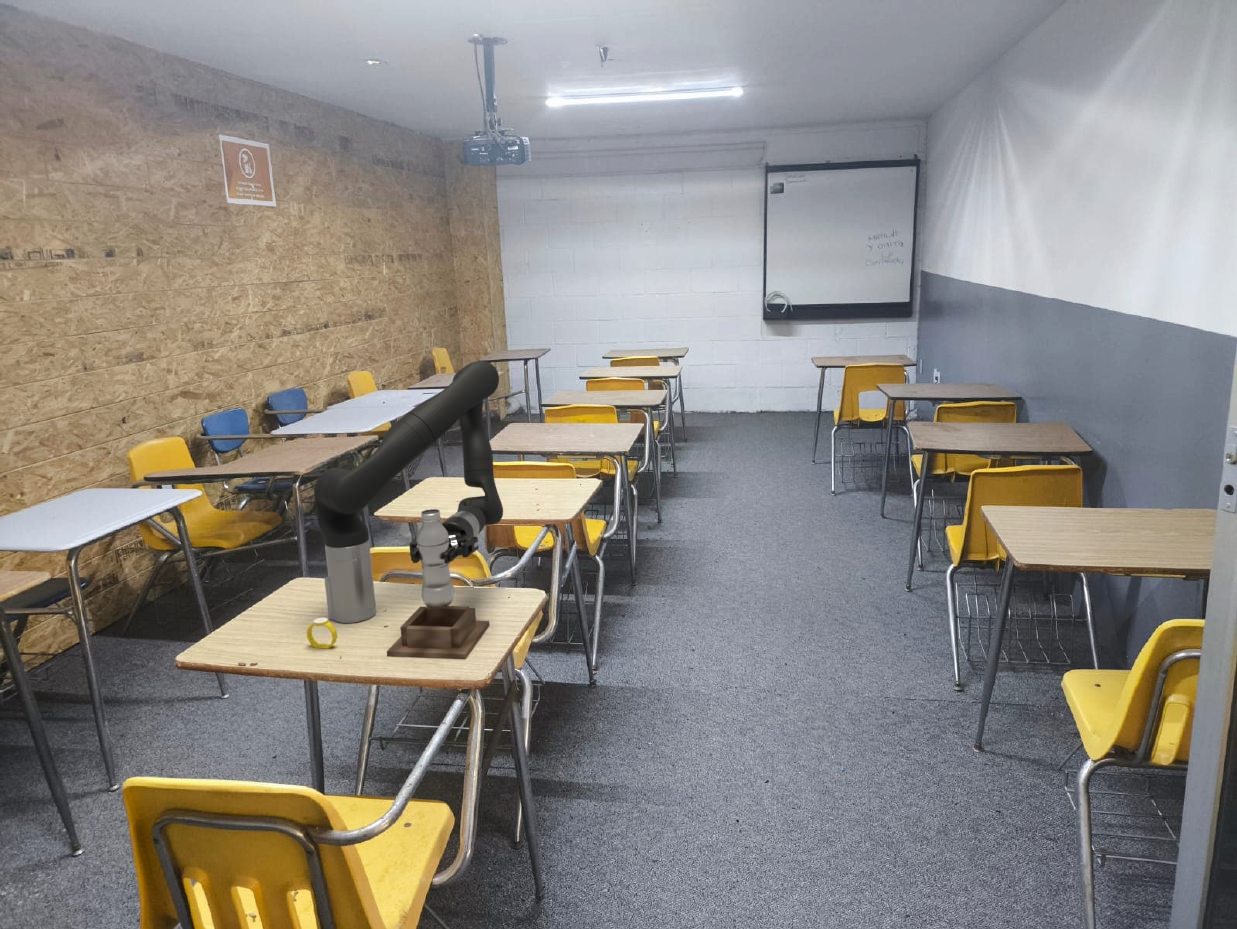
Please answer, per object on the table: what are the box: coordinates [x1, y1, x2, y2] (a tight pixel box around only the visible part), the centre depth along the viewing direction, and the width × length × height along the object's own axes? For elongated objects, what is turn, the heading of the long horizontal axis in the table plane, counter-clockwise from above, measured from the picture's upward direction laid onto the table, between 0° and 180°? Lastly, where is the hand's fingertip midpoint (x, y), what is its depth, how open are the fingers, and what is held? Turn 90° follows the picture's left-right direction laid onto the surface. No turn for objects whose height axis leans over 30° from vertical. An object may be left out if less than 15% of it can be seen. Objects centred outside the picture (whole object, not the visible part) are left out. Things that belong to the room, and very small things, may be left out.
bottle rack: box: [386, 605, 491, 660], centre depth 162 cm, size 16×16×5 cm
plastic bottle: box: [416, 508, 455, 608], centre depth 159 cm, size 6×7×20 cm
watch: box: [306, 617, 338, 650], centre depth 160 cm, size 6×3×6 cm, turn 80°
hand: (430, 558), depth 156 cm, fingers closed on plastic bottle, 6 cm apart
